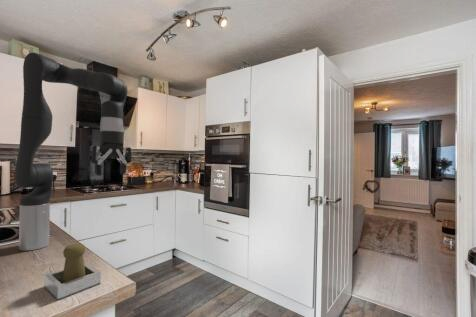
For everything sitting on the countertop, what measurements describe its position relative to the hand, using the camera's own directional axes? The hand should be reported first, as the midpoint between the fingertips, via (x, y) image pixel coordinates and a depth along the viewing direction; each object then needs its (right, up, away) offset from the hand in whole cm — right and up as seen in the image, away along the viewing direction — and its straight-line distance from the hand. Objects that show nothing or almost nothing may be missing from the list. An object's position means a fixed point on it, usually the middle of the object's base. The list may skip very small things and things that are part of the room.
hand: (111, 174), depth 88 cm
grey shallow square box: (0, -30, -20) cm, 36 cm away
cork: (0, -30, -19) cm, 36 cm away
